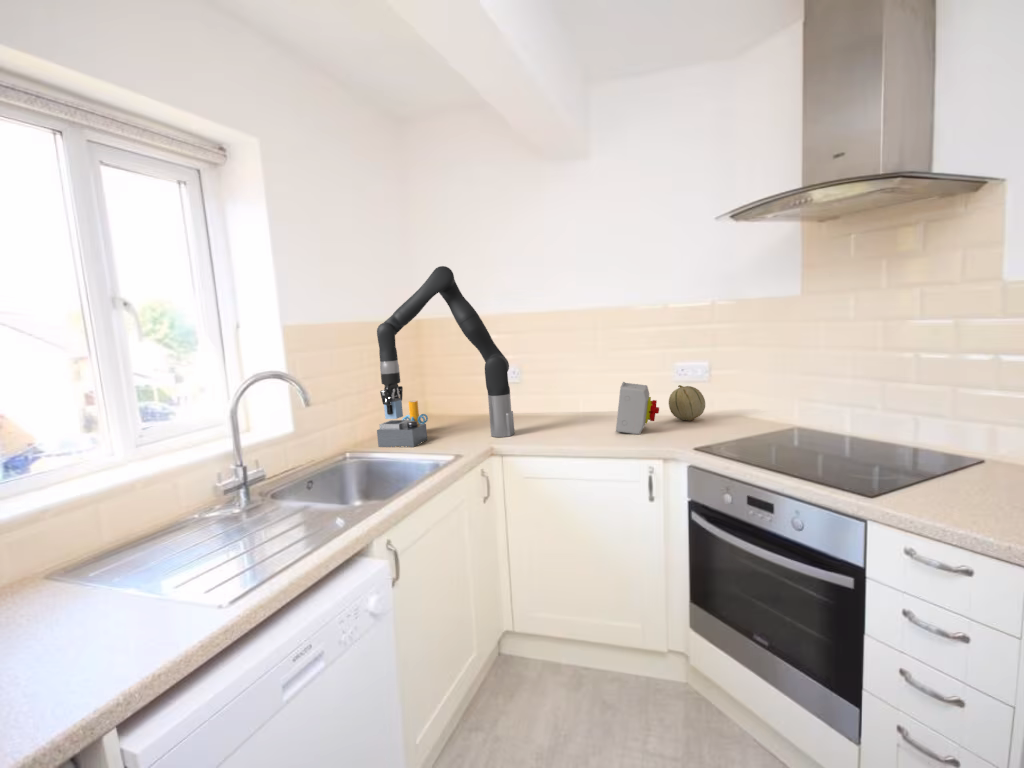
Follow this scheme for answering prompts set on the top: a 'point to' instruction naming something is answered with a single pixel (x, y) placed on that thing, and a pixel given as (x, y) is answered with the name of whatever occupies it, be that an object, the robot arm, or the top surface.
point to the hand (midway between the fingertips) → (393, 412)
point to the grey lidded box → (394, 409)
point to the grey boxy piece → (401, 433)
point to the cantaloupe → (686, 403)
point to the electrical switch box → (634, 408)
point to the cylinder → (415, 413)
